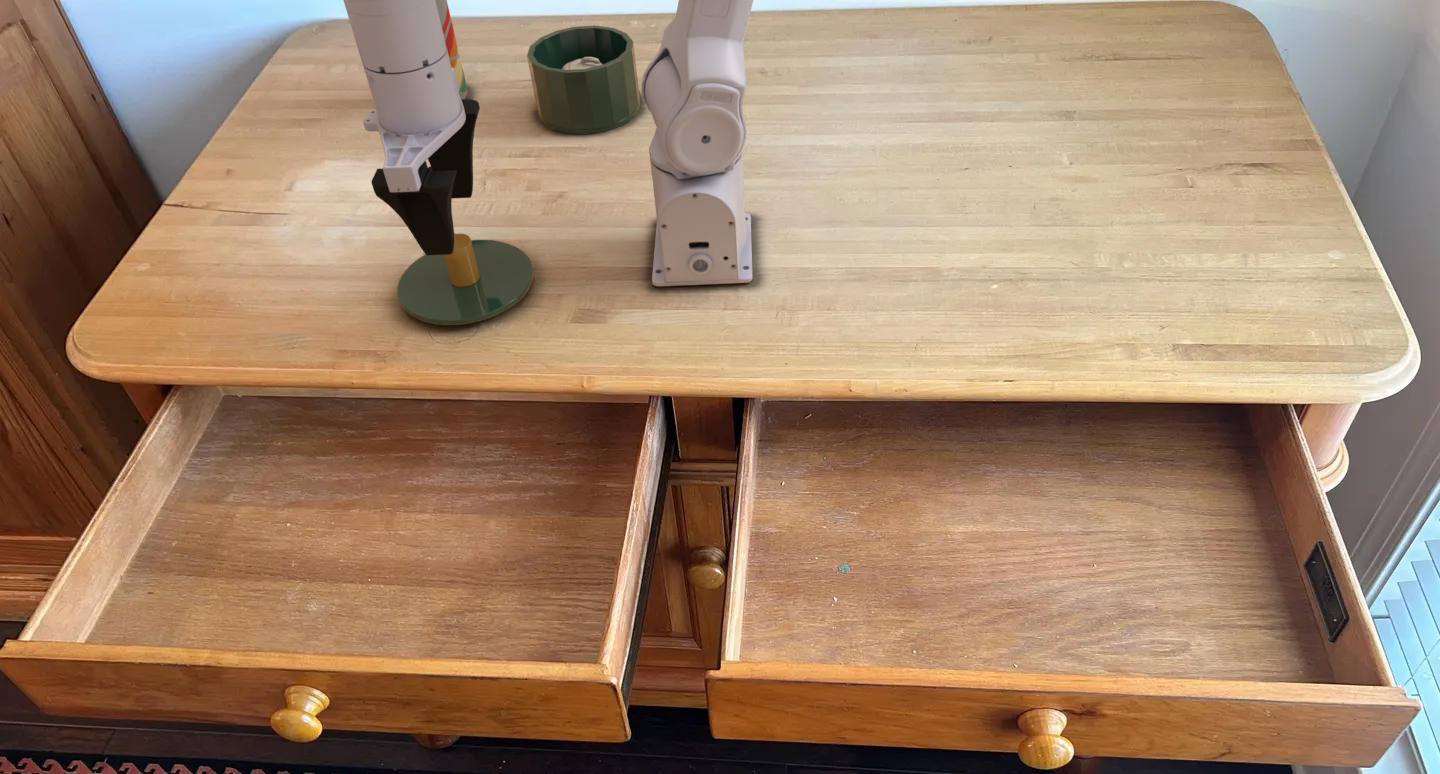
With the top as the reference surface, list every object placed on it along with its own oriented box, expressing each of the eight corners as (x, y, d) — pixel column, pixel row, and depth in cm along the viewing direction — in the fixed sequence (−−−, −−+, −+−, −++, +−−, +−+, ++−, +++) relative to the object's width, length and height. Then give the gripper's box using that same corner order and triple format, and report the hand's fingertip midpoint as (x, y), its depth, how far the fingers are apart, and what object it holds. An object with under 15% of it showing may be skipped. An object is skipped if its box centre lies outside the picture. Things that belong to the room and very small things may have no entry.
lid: (524, 328, 81) (513, 280, 78) (386, 334, 81) (369, 286, 78) (542, 247, 89) (533, 200, 86) (416, 252, 89) (402, 206, 86)
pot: (636, 131, 103) (628, 69, 98) (532, 136, 103) (520, 74, 99) (642, 83, 110) (635, 23, 106) (545, 88, 111) (535, 28, 106)
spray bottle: (479, 89, 111) (433, -111, 98) (447, 114, 107) (395, -90, 94) (435, 82, 113) (384, -116, 100) (402, 106, 109) (345, -96, 96)
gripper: (373, 13, 77) (418, 175, 86) (316, 109, 66) (375, 281, 76) (468, 9, 77) (503, 171, 86) (426, 104, 66) (472, 278, 75)
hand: (449, 223), depth 81 cm, fingers open, 7 cm apart
